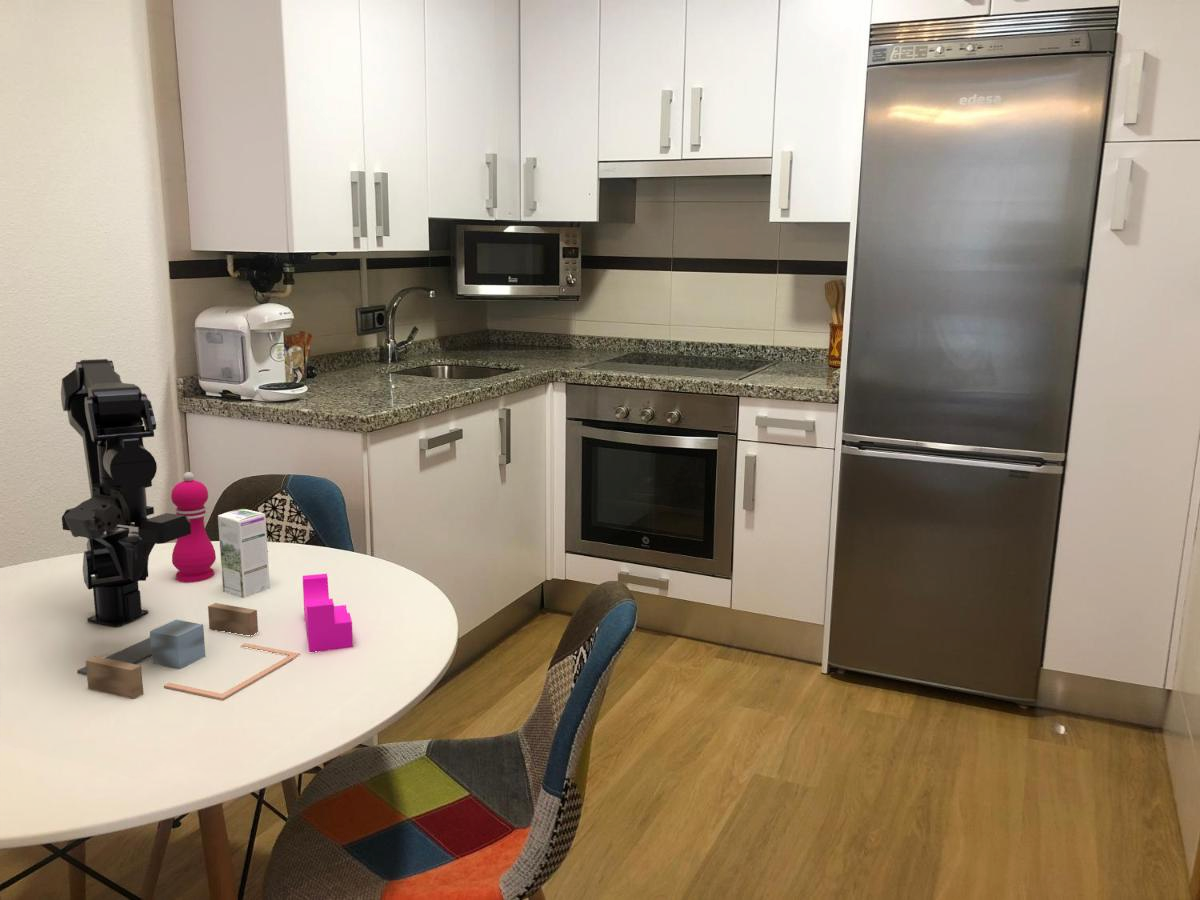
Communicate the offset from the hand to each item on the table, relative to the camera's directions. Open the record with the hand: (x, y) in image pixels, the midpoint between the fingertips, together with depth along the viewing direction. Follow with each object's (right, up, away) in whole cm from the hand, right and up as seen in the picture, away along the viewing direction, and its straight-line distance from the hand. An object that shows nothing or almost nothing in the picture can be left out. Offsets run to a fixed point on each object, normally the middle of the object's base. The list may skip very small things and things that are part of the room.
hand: (130, 579), depth 142 cm
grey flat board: (+1, -11, +2) cm, 11 cm away
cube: (+7, -12, -1) cm, 14 cm away
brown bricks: (+7, -11, -1) cm, 14 cm away
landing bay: (+16, -12, -4) cm, 21 cm away
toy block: (+26, -10, +10) cm, 29 cm away
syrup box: (+7, -6, +27) cm, 28 cm away
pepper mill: (-4, -5, +33) cm, 34 cm away
